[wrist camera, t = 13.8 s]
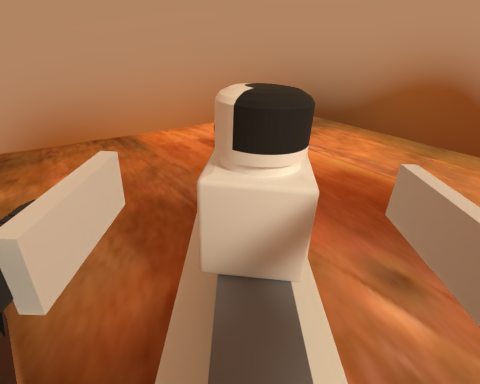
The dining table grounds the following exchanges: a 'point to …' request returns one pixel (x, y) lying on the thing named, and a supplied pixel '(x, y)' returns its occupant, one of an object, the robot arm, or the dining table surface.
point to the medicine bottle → (258, 184)
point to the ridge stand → (247, 330)
